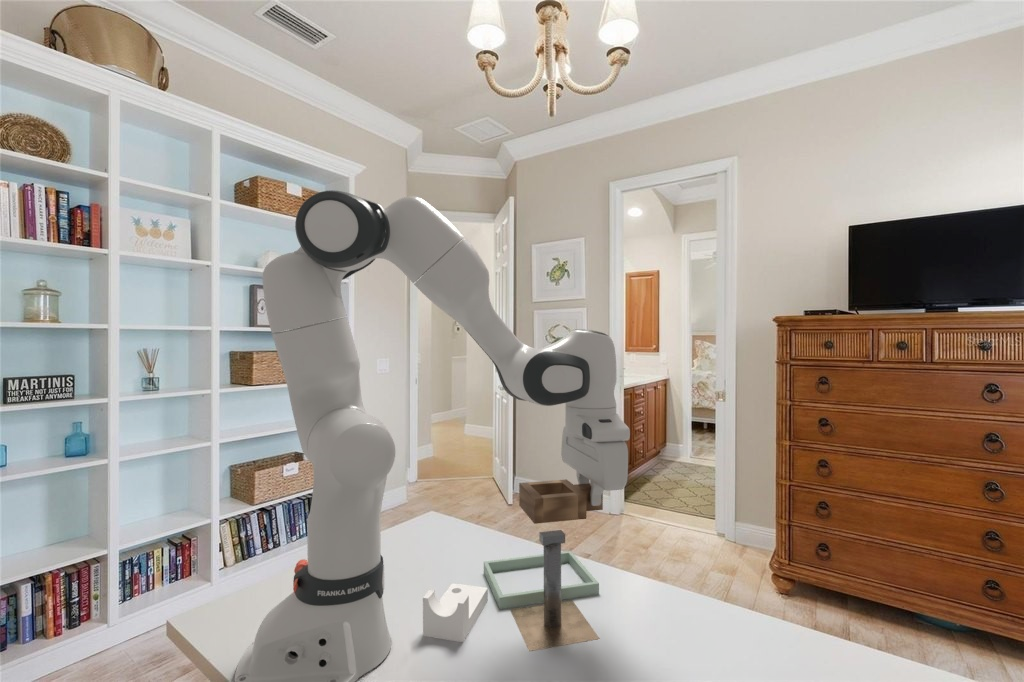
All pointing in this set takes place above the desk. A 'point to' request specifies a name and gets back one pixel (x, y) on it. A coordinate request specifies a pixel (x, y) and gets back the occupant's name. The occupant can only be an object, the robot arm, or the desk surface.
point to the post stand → (552, 606)
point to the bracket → (453, 611)
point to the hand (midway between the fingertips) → (590, 500)
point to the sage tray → (538, 595)
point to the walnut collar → (555, 501)
